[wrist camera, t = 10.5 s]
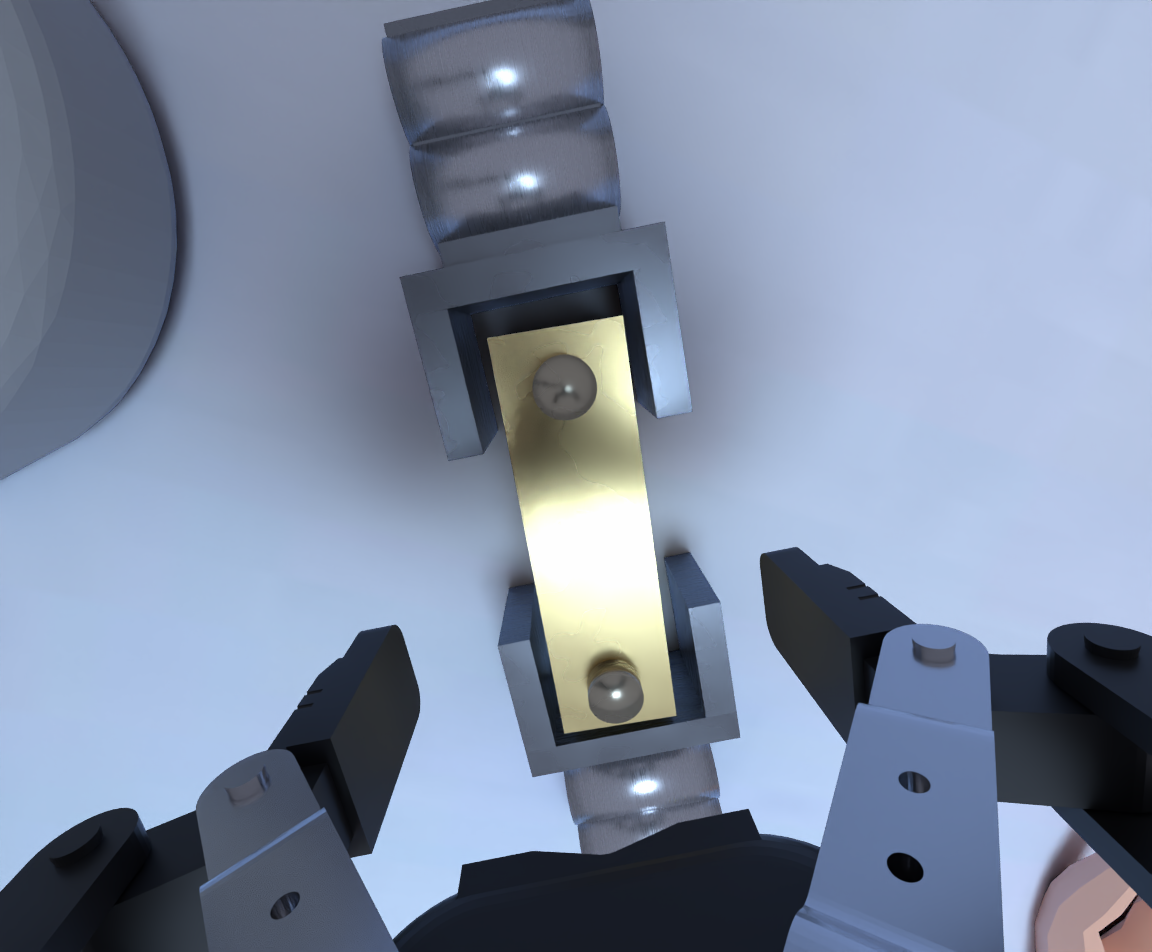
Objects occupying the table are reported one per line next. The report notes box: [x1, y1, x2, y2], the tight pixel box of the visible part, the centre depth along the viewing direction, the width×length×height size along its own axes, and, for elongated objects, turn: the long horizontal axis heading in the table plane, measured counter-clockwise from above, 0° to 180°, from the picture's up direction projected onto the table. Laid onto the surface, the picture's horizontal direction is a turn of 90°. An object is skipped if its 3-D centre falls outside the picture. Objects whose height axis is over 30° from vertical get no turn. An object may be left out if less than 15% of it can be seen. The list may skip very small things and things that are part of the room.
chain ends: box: [382, 0, 740, 855], centre depth 18 cm, size 7×28×4 cm, turn 11°
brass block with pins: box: [487, 315, 676, 734], centre depth 17 cm, size 4×12×6 cm, turn 9°
